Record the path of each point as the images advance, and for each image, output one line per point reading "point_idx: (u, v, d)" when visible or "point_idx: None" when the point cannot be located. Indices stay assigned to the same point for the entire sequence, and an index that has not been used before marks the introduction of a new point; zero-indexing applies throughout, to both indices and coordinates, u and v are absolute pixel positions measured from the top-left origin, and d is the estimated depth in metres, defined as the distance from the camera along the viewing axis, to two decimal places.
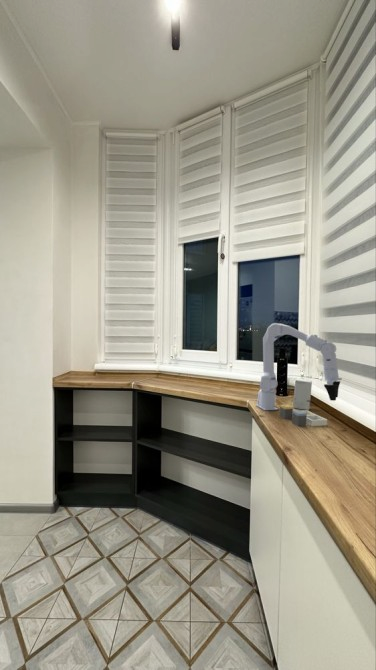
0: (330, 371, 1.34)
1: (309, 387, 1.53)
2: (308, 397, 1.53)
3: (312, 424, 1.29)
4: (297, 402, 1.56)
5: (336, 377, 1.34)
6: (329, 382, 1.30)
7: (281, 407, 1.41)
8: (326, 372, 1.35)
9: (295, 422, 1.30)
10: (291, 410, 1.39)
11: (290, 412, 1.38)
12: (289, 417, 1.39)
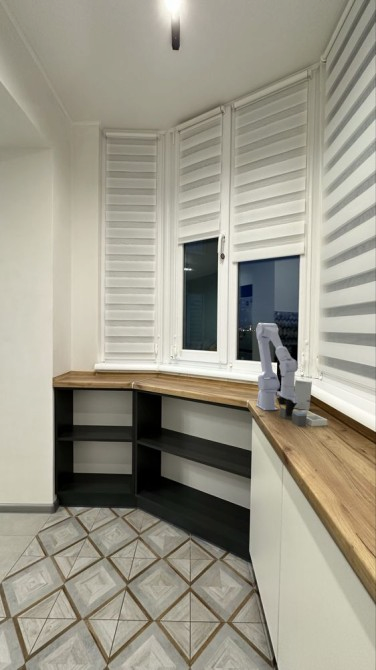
0: (291, 388, 1.37)
1: (309, 387, 1.53)
2: (308, 397, 1.53)
3: (312, 424, 1.29)
4: None
5: (293, 394, 1.39)
6: (296, 400, 1.33)
7: (281, 407, 1.41)
8: (287, 389, 1.37)
9: (295, 422, 1.30)
10: None
11: None
12: (289, 417, 1.39)
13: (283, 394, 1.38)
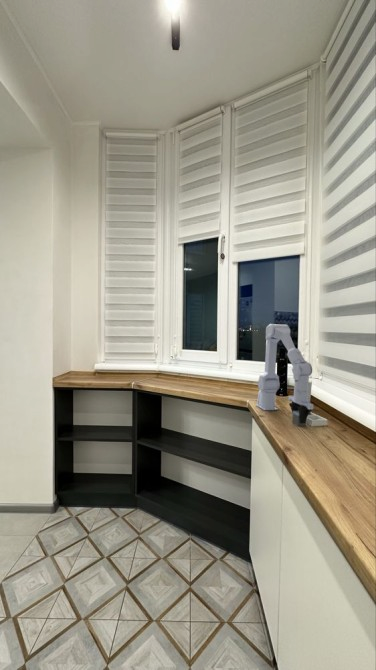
0: (305, 394, 1.27)
1: (309, 387, 1.53)
2: (308, 397, 1.53)
3: (312, 424, 1.29)
4: None
5: (307, 399, 1.29)
6: (310, 406, 1.23)
7: None
8: (300, 394, 1.27)
9: (295, 422, 1.30)
10: None
11: None
12: None
13: (296, 400, 1.28)
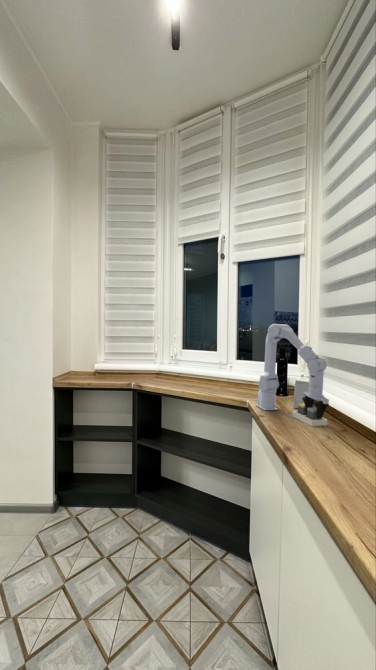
0: (320, 388, 1.30)
1: None
2: None
3: (312, 424, 1.29)
4: (297, 402, 1.56)
5: None
6: (326, 401, 1.26)
7: (299, 406, 1.40)
8: (316, 389, 1.30)
9: (309, 418, 1.33)
10: None
11: None
12: None
13: (311, 394, 1.31)
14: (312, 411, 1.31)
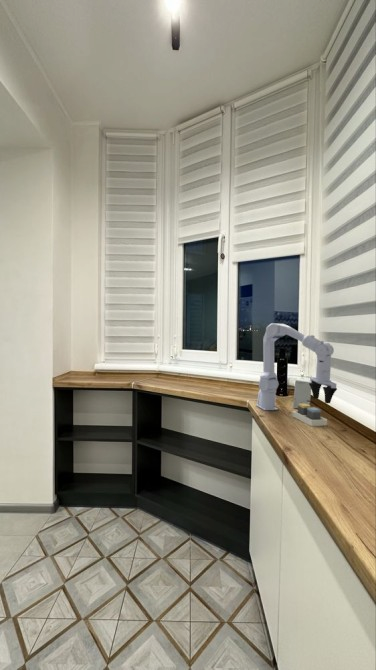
0: (328, 373, 1.31)
1: (309, 387, 1.53)
2: (308, 397, 1.53)
3: (312, 424, 1.29)
4: (297, 402, 1.56)
5: (329, 379, 1.32)
6: (334, 385, 1.27)
7: (299, 406, 1.40)
8: (323, 374, 1.31)
9: (309, 418, 1.33)
10: None
11: None
12: None
13: (319, 379, 1.32)
14: (312, 411, 1.31)
